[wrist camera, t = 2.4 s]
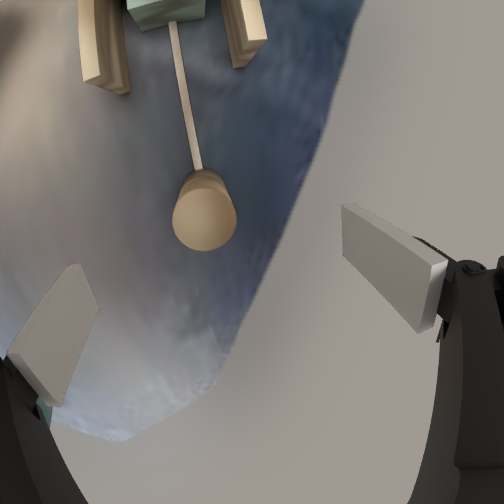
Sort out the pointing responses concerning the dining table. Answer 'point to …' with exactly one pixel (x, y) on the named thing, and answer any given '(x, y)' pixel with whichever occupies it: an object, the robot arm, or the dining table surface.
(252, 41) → the tan wooden arch
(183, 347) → the dining table surface
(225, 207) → the tethered block
